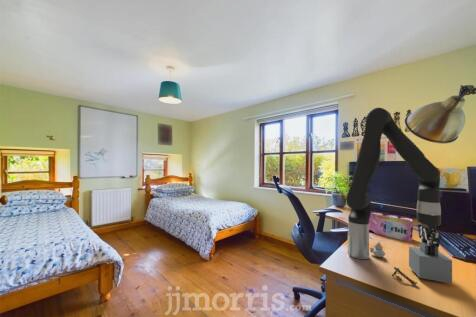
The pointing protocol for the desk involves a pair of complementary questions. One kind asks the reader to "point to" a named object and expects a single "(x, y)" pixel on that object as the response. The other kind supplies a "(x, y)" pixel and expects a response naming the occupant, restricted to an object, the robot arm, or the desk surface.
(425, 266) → the grey rectangular box
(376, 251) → the pale blue irregular piece
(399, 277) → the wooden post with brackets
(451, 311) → the desk surface
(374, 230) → the gum box
